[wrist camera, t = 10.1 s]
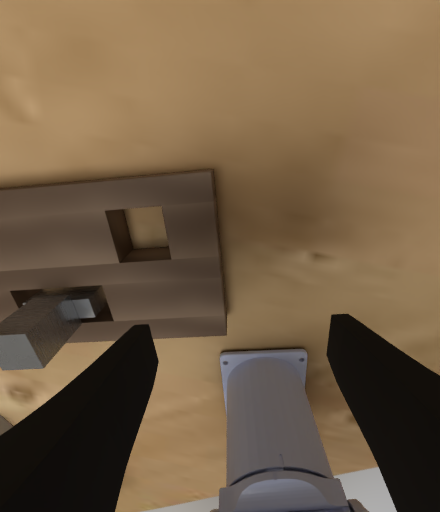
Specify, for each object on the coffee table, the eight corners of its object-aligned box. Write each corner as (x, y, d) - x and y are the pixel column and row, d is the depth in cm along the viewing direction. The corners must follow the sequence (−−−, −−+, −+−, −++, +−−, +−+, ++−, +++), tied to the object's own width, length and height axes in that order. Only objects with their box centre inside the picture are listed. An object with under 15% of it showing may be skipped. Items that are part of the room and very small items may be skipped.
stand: (226, 315, 20) (226, 335, 18) (31, 325, 22) (8, 345, 19) (213, 169, 16) (210, 171, 13) (-36, 192, 17) (-78, 197, 15)
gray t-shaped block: (115, 299, 20) (62, 367, 14) (60, 303, 21) (-16, 371, 14) (106, 273, 19) (45, 332, 13) (48, 277, 20) (-39, 337, 13)
